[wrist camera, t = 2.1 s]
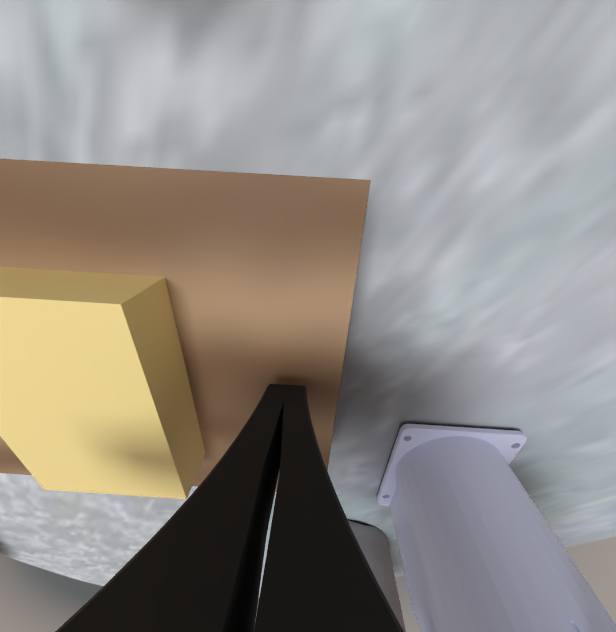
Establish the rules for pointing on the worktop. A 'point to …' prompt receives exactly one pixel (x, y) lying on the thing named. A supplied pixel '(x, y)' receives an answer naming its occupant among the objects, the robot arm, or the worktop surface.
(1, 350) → the yellow block
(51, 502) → the worktop surface
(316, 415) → the plate
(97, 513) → the worktop surface
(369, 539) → the pillar candle
